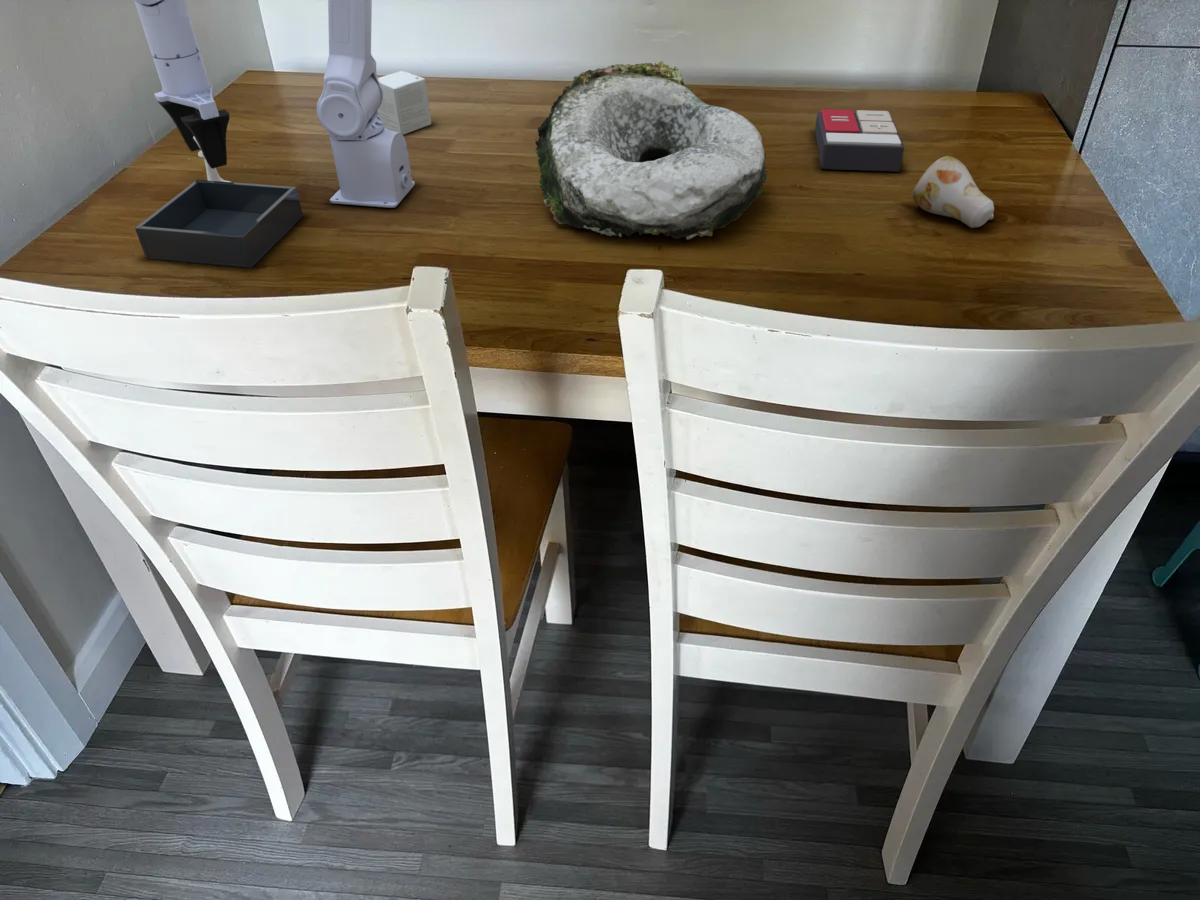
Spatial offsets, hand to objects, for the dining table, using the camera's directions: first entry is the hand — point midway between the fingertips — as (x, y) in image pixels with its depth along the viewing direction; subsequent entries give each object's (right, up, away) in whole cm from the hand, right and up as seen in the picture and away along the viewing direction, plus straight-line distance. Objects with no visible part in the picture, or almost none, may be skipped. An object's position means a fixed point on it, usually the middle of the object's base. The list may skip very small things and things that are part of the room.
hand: (208, 157), depth 123 cm
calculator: (+91, +4, +11) cm, 92 cm away
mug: (+99, -10, -6) cm, 100 cm away
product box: (+22, +12, +22) cm, 33 cm away
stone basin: (+60, -6, -1) cm, 61 cm away
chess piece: (0, -4, +3) cm, 5 cm away
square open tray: (+5, -12, -7) cm, 15 cm away
